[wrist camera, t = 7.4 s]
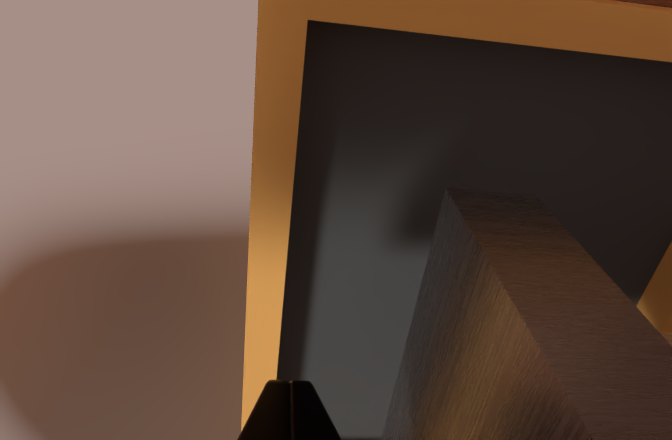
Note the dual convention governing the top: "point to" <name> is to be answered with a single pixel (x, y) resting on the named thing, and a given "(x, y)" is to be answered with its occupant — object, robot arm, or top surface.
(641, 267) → the wooden picture frame
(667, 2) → the top surface
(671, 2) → the top surface
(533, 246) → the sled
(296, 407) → the robot arm
